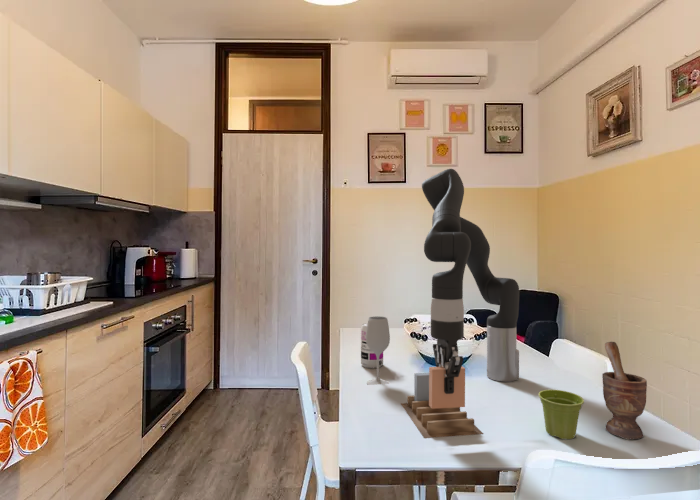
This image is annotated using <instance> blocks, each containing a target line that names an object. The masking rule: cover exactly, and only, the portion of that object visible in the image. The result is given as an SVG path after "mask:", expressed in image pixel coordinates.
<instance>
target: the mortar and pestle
mask: <svg viewBox="0 0 700 500" xmlns="http://www.w3.org/2000/svg"><path fill="white" fill-rule="evenodd" d="M604 348H605V352H606V355H607V357H608V359H609V361H610V365H611V368H612V370H613V371H605V372H603V373H602V375H601V376H602V395H603V400H604V403H605V407H606V408H607V410H608V411H609V412H610V413H611V414H612V418H610V419H609V420H607V421H606V424H605V431H607V432H608V433H610V434H612V435H615V436H616V437H619V438H622V439H625V440H628V441H629V440H637V439H642V438H644V433H643V430H642V428H641V426H640V425H639V424H638V422H637V421H636V420H637V418H638V417H640V416H641V415H643V413H644V411H645V407H646V404H647V392H648V391H647V390H648V389H647V388H648V382H647V379H645V378H644V377H642V376H639V375H636V374H631V373H626V372H625V370H624V368H623V364H622V359H621V354H620V349H619V346H618V344H617V343H616V342H615V341H608V342H607V341H606V342H605V343H604Z"/></svg>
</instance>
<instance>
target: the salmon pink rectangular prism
mask: <svg viewBox="0 0 700 500" xmlns="http://www.w3.org/2000/svg"><path fill="white" fill-rule="evenodd" d="M428 369H429V370H428V373H429V406H430V407H431V408H432V409H435V408H455V407H460V408H465V407H466V368H465V367H464V366H463V365H462V366H461V370H460V373H459V377H454V393H453V394H446V393H445V392H444V368H443V367H436V366H429V368H428ZM447 370H448V368H447Z"/></svg>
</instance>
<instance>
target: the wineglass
mask: <svg viewBox="0 0 700 500" xmlns="http://www.w3.org/2000/svg"><path fill="white" fill-rule="evenodd" d="M367 323H368V324H367V331H366V343H367V346H368V347H369V348H370V350H371V351H372V352H374V353H375V354H376V357H377V368H376V377H375V379H370V380H368V381H366V385H367V386H375V385H377V386H378V385H389V384H390V382H389V381H388V380H386V379H385V380H384V379H382V378H381V377H380V367H379V356H380V354H381V353H382V352H383V353H384V352H385V351H386V350H387V348H388V347H389V346H390V340H391V337H390V336H391V335H390V327H389V326H390V325H389V321H388V317H386V316H369V317H368V319H367Z"/></svg>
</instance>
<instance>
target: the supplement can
mask: <svg viewBox="0 0 700 500" xmlns="http://www.w3.org/2000/svg"><path fill="white" fill-rule="evenodd" d="M367 324H368V322H366V323H363V324H362V326H361V327H360V364H361V365H362V367H363V368H366V369H377V357H376V354H375V353H374V352H372V351H371V350H370V348H369V347H368V346H367V343H366V331H367ZM383 365H384V352H382V353H381V354H380V356H379V368H381V367H383Z"/></svg>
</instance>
